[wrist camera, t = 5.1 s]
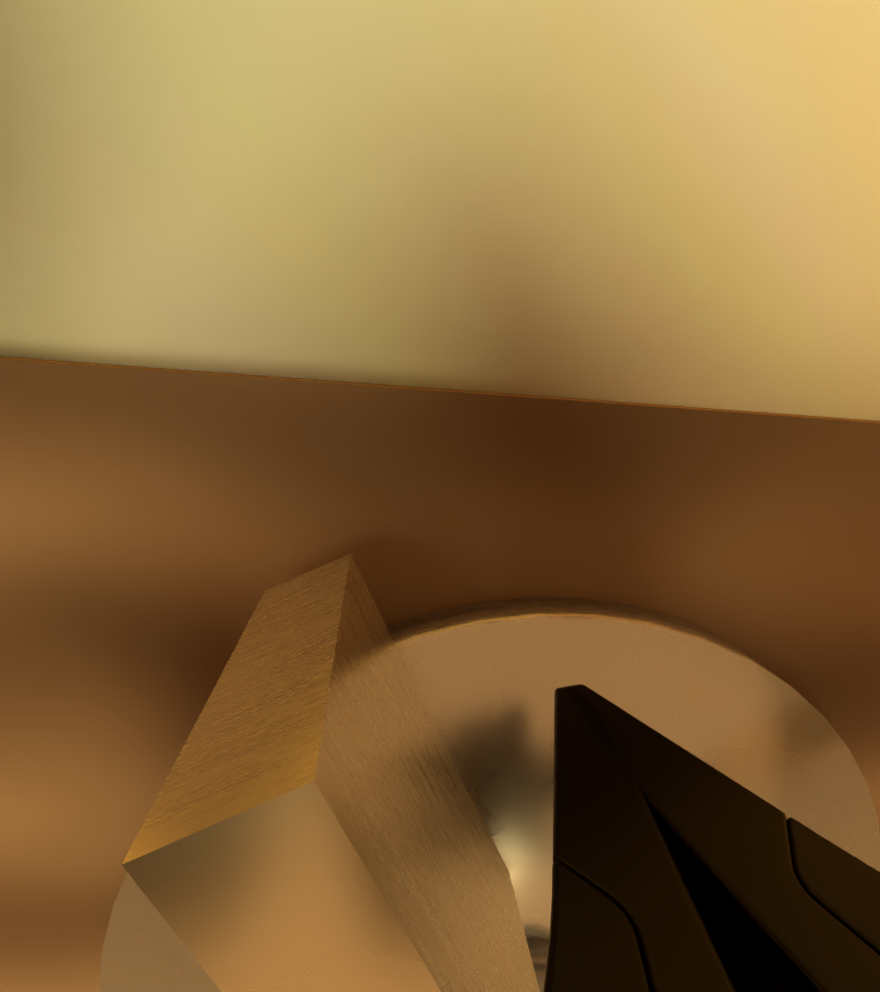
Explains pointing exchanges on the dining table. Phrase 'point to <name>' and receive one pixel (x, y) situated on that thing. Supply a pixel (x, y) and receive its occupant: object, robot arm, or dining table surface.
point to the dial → (425, 789)
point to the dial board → (366, 569)
